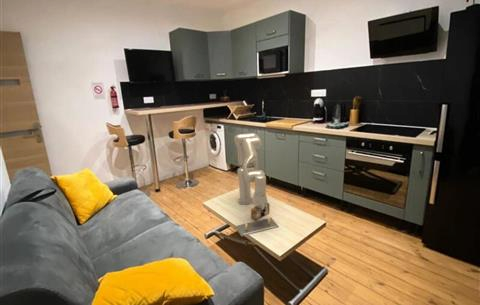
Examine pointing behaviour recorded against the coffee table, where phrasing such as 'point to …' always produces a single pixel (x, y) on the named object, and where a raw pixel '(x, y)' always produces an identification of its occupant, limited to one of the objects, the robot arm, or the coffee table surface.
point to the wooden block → (258, 213)
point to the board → (256, 226)
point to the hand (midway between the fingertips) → (260, 214)
